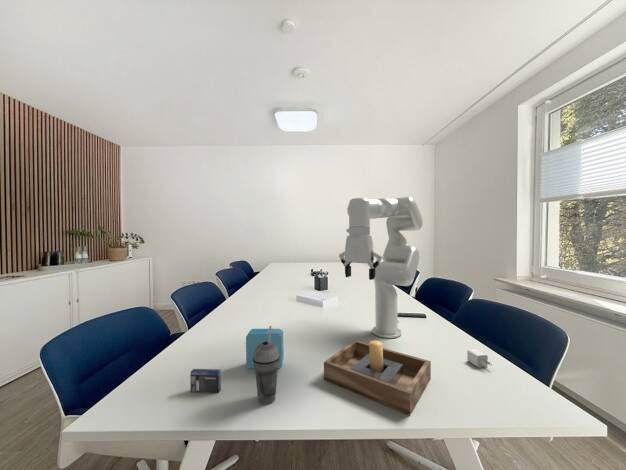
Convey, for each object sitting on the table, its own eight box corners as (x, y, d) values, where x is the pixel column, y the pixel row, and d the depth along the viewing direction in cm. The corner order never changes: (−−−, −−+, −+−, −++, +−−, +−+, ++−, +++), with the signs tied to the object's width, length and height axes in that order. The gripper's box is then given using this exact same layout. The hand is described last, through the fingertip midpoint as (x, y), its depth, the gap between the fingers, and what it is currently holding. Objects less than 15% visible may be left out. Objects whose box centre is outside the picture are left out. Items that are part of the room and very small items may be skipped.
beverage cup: (255, 392, 74) (254, 322, 74) (280, 390, 75) (280, 321, 75) (251, 409, 67) (250, 332, 67) (279, 407, 68) (278, 330, 67)
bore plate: (368, 362, 88) (367, 353, 88) (403, 374, 81) (403, 364, 81) (350, 378, 79) (350, 368, 79) (388, 393, 72) (388, 382, 72)
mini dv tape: (190, 392, 74) (190, 371, 74) (193, 389, 76) (192, 369, 76) (218, 393, 74) (218, 372, 74) (220, 389, 76) (220, 369, 76)
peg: (368, 376, 80) (367, 344, 80) (373, 371, 83) (372, 339, 83) (380, 380, 77) (379, 346, 77) (385, 374, 81) (384, 342, 81)
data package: (283, 362, 91) (283, 328, 91) (282, 369, 87) (281, 333, 87) (249, 362, 91) (249, 328, 91) (246, 369, 87) (245, 333, 87)
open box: (355, 355, 96) (355, 340, 96) (430, 378, 80) (430, 361, 80) (323, 379, 80) (323, 362, 80) (410, 415, 64) (409, 393, 64)
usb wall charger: (477, 360, 91) (477, 349, 91) (494, 370, 85) (494, 358, 84) (467, 361, 91) (467, 349, 91) (483, 371, 84) (483, 359, 84)
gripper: (334, 232, 99) (334, 277, 99) (377, 231, 88) (377, 282, 88) (344, 232, 105) (344, 274, 105) (385, 231, 94) (386, 278, 94)
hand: (359, 278), depth 97 cm, fingers open, 9 cm apart
